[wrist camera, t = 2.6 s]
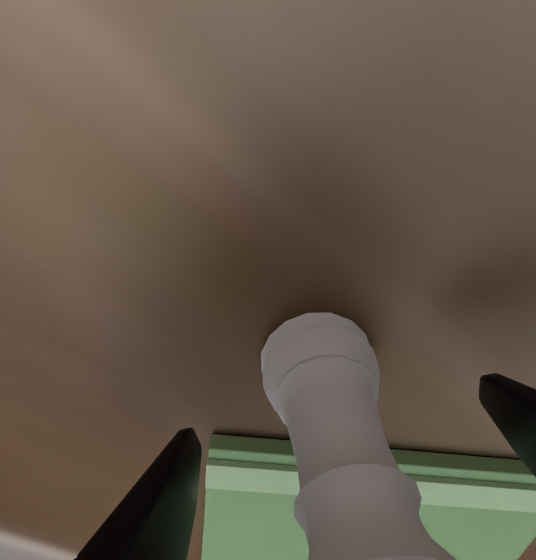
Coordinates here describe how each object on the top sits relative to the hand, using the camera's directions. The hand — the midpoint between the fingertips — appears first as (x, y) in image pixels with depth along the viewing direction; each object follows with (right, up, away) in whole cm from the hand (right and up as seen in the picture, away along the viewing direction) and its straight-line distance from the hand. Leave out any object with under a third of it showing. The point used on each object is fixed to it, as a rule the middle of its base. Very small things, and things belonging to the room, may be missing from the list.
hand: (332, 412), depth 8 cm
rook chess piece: (0, +1, +3) cm, 3 cm away
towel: (+4, -10, +7) cm, 12 cm away
